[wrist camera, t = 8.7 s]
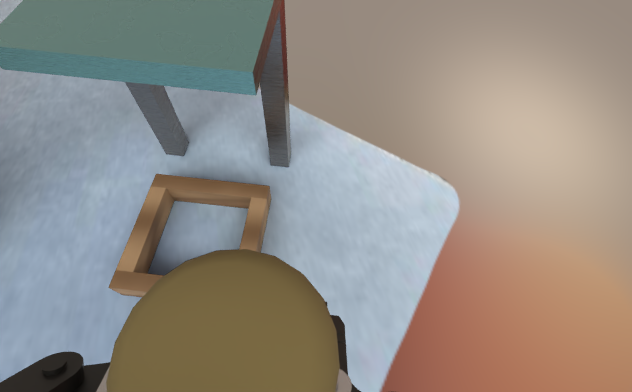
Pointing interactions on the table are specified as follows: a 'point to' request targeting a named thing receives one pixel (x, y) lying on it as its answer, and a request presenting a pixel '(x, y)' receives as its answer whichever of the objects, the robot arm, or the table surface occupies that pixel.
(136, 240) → the socket
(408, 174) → the table surface
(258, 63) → the mint green stool
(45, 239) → the table surface
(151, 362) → the cork
